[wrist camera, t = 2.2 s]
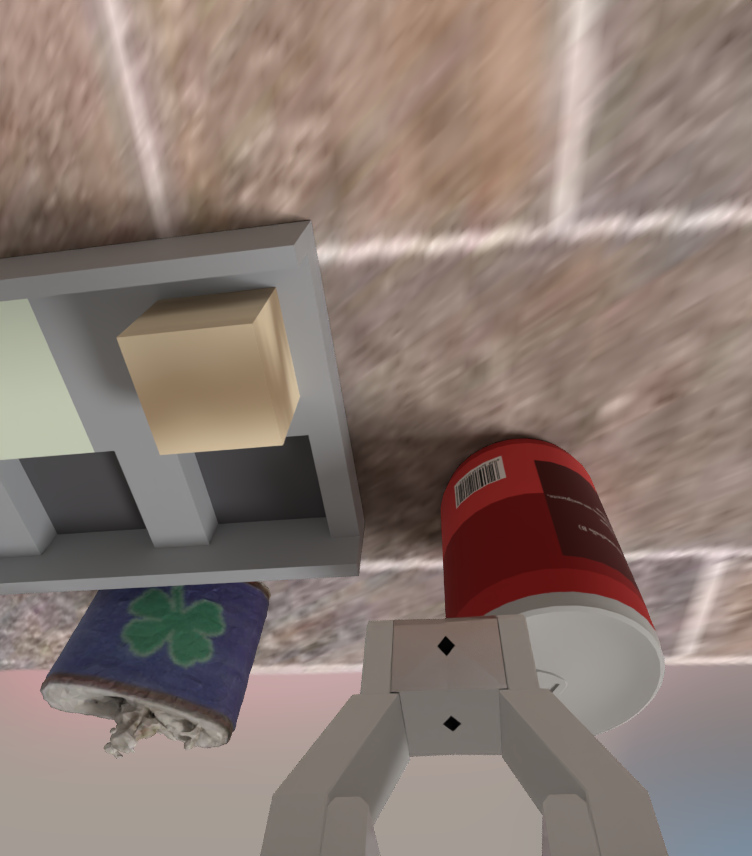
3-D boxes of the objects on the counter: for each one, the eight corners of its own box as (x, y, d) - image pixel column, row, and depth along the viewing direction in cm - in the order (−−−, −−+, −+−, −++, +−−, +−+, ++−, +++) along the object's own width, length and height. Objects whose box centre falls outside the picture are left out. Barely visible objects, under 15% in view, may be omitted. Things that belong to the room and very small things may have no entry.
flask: (116, 570, 36) (13, 744, 27) (122, 535, 34) (15, 706, 25) (266, 613, 37) (217, 793, 28) (278, 580, 35) (230, 759, 26)
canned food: (427, 544, 33) (431, 732, 24) (457, 421, 29) (476, 590, 20) (563, 563, 33) (620, 758, 24) (612, 444, 29) (704, 622, 20)
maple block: (157, 300, 25) (116, 337, 21) (276, 286, 24) (252, 323, 21) (192, 406, 27) (160, 455, 24) (300, 396, 27) (283, 445, 23)
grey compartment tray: (-145, 276, 27) (-227, 307, 24) (311, 220, 25) (293, 244, 21) (9, 545, 35) (-34, 596, 32) (364, 522, 33) (358, 576, 29)
